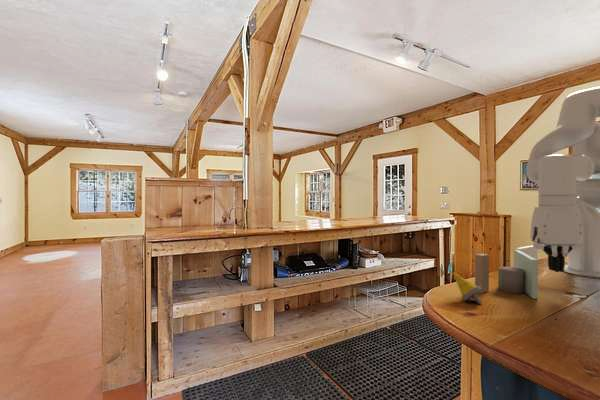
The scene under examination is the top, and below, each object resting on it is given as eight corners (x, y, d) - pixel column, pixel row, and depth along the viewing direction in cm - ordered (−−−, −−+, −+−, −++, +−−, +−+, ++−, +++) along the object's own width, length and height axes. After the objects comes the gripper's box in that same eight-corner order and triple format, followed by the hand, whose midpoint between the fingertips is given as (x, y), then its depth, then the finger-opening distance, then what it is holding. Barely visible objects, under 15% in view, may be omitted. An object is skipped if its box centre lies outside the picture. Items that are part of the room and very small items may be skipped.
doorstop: (506, 285, 90) (506, 265, 89) (528, 291, 84) (528, 270, 84) (493, 288, 87) (493, 268, 87) (515, 295, 82) (515, 273, 81)
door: (513, 281, 93) (513, 249, 92) (517, 281, 92) (517, 249, 92) (532, 298, 79) (532, 260, 78) (537, 298, 78) (537, 260, 78)
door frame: (531, 277, 97) (531, 244, 97) (538, 278, 96) (539, 245, 95) (475, 291, 85) (475, 254, 85) (481, 293, 83) (482, 255, 83)
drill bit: (473, 309, 73) (443, 275, 79) (472, 311, 78) (444, 279, 83) (492, 297, 73) (461, 264, 78) (490, 300, 77) (460, 268, 83)
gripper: (576, 200, 82) (575, 267, 82) (517, 201, 84) (517, 266, 84) (600, 201, 74) (599, 275, 75) (535, 203, 76) (535, 274, 77)
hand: (556, 270), depth 80 cm, fingers closed
